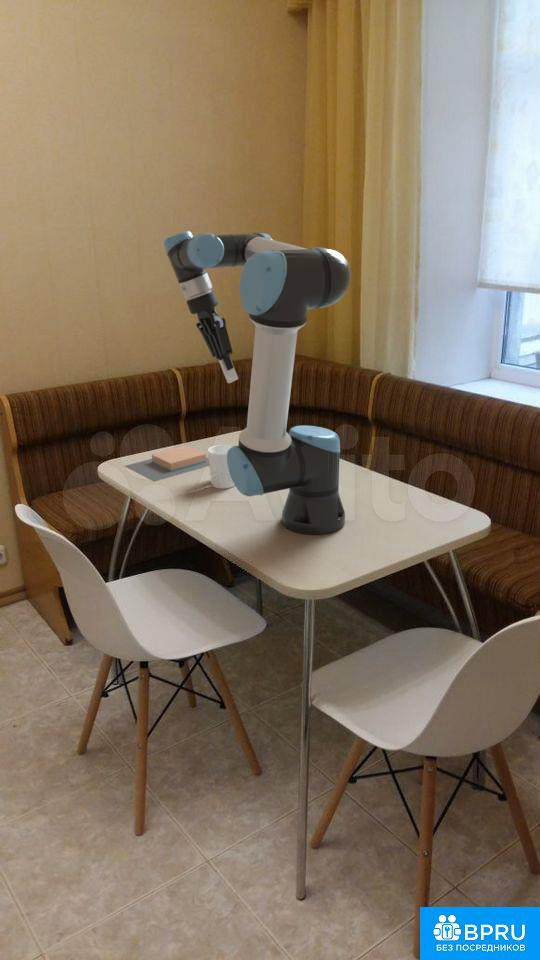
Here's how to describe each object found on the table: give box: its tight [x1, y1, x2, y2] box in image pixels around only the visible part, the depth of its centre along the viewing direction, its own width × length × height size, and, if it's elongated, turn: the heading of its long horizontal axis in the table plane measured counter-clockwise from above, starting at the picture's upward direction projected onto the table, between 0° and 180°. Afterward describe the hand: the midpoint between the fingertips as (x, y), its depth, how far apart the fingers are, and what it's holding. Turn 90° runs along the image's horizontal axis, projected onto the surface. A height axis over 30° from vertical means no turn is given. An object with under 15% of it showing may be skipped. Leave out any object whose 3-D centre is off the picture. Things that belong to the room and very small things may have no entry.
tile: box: [151, 445, 207, 472], centre depth 219 cm, size 2×10×12 cm
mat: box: [124, 456, 209, 482], centre depth 218 cm, size 22×16×1 cm
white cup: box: [207, 444, 236, 490], centre depth 203 cm, size 8×8×10 cm
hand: (232, 380), depth 198 cm, fingers closed
